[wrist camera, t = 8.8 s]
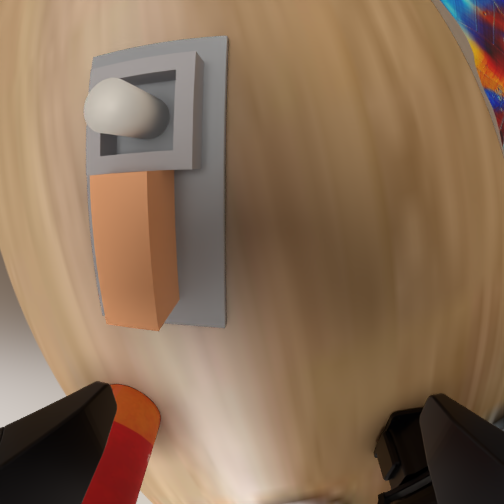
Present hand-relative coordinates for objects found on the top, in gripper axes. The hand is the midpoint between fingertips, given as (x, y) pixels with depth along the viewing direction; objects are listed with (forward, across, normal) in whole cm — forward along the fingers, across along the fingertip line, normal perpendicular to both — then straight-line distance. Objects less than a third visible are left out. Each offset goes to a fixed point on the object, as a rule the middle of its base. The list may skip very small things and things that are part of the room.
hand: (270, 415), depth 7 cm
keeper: (+12, +7, -5) cm, 15 cm away
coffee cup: (+12, +12, +14) cm, 22 cm away
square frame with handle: (+11, +7, -5) cm, 14 cm away
